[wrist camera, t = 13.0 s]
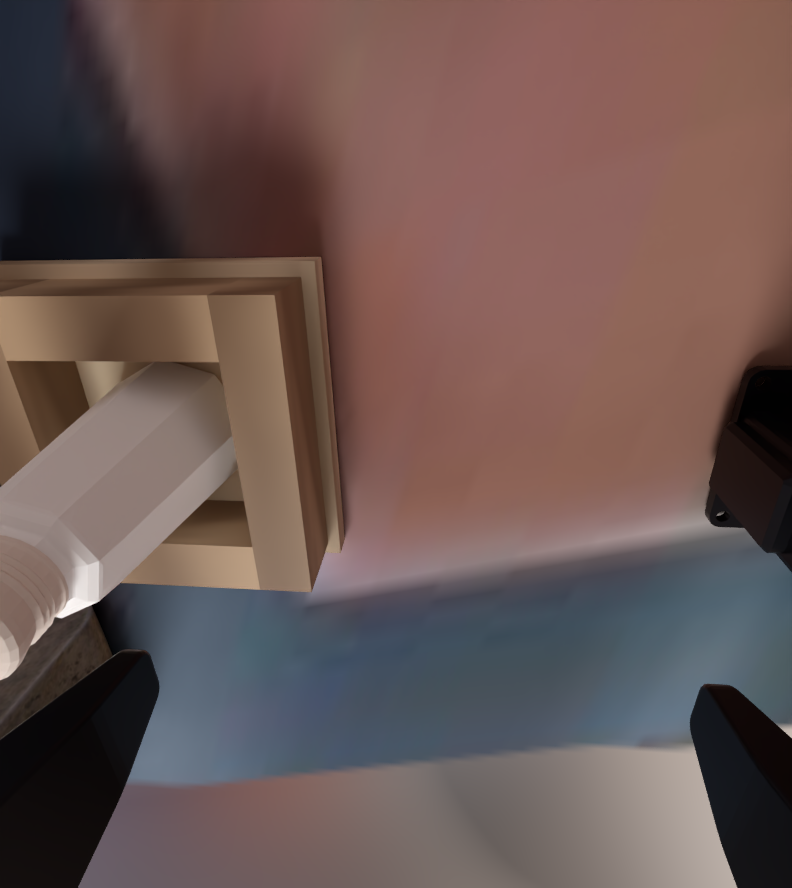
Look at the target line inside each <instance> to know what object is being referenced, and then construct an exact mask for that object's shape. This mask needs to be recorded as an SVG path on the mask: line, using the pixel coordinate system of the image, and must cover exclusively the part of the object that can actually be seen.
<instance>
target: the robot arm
mask: <svg viewBox="0 0 792 888" xmlns="http://www.w3.org/2000/svg"><path fill="white" fill-rule="evenodd" d="M761 377H765V381H764V383H763V384H761V385H760V386H755V383H756V381H757V380H758V379H759V378H761ZM709 485H710V487H711V492H710V495H709V499H708V502H707V506H706V509H705V515H706V517H707V518H708V520H709V521H710V522H711V524H713V525H714V526H718V527H737V528H745V529H746V530H747V532H748V533H749V534H750V535H751V536H752V538H753V539H754V540H755V541H756V542H757V544H758V545H759V546H760V547H761V548H762V549H763V550H764V551H765V552H766V553H776V554H777V555H778V557H779V558H780V559H781V560H782V561H783V562H784V564H785V565H786V566H787V567H788V568H789V570H790V571H791V572H792V366H757V367H754V368H752V369H750V370H749V371H748V372H747V373H746V374H745V375H744V377H743V379H742V382H741V386H740V389H739V393H738V396H737V400H736V403H735V407H734V411H733V414H732V418H731V421H730V423H729V424H728V425H727V426H726V427H725V428H724V431H723V434H722V438H721V441H720V445H719V449H718V452H717V456H716V459H715V463H714V467H713V470H712V474H711V477H710V481H709ZM721 511H725V512H724V514H722V515H720V516H716V515H717V514H718V513H719V512H721ZM158 694H159V681H158V677H157V674H156V671H155V668H154V665H153V662H152V659H151V656H150V654H149V653H148V652H147V651H145V650H133V649H125V650H122V651H120V652H118V653H117V654H115V655H114V656H113V657H111V658H110V659H108V660H107V661H106V662H104V663H103V664H102V665H100V666H99V667H98V668H96V669H95V670H93V671H92V672H91V673H89V674H88V675H87V676H85V677H84V678H83V679H81V680H80V681H78V682H77V683H76V684H74V685H73V686H72V687H70V688H69V689H68V690H66V691H65V692H63V693H62V694H61V695H59V696H58V697H57V698H55V699H54V700H53V701H51V702H50V703H48V704H47V705H46V706H44V707H43V708H42V709H40V710H39V711H38V712H36V713H35V714H33V715H32V716H31V717H29V718H28V719H27V720H25V721H24V722H23V723H21V724H20V725H18V726H17V727H16V728H14V729H13V730H12V731H10V732H9V733H8V734H6V735H5V736H3V737H2V738H1V739H0V888H78V886H79V884H80V882H81V880H82V878H83V875H84V873H85V871H86V869H87V867H88V865H89V863H90V861H91V859H92V856H93V854H94V852H95V850H96V848H97V846H98V844H99V842H100V840H101V837H102V835H103V833H104V831H105V829H106V827H107V825H108V822H109V820H110V818H111V816H112V814H113V812H114V810H115V808H116V806H117V803H118V801H119V799H120V797H121V794H122V792H123V790H124V787H125V785H126V782H127V780H128V777H129V775H130V772H131V769H132V766H133V764H134V761H135V758H136V756H137V753H138V750H139V747H140V745H141V742H142V739H143V736H144V734H145V731H146V728H147V725H148V723H149V720H150V717H151V714H152V712H153V709H154V706H155V704H156V701H157V698H158ZM690 730H691V735H692V739H693V743H694V746H695V750H696V754H697V757H698V761H699V765H700V769H701V772H702V776H703V780H704V783H705V787H706V791H707V794H708V798H709V801H710V805H711V809H712V813H713V816H714V820H715V824H716V827H717V831H718V834H719V837H720V841H721V844H722V847H723V850H724V853H725V855H726V858H727V861H728V864H729V866H730V869H731V872H732V874H733V877H734V880H735V882H736V885H737V888H792V738H791V737H789V736H788V735H787V734H786V733H785V732H784V731H783V730H782V729H781V728H779V727H778V726H777V725H776V724H775V723H774V722H773V721H772V720H771V719H769V718H768V717H767V716H766V715H765V714H764V713H763V712H762V711H761V710H759V709H758V708H757V707H756V706H755V705H754V704H753V703H752V702H751V701H749V700H748V699H747V698H746V697H745V696H744V695H743V694H742V693H741V692H739V691H738V690H737V689H736V688H734V687H732V686H730V685H721V684H704V685H703V686H702V687H701V688H700V691H699V693H698V696H697V699H696V702H695V705H694V708H693V711H692V714H691V718H690Z"/></svg>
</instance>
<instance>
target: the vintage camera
mask: <svg viewBox="0 0 792 888" xmlns="http://www.w3.org/2000/svg"><path fill="white" fill-rule="evenodd" d="M111 657H113V655H112V653H111V650H110V648H109V645H108V643H107V640H106V638H105V635H104V633H103V631H102V628H101V626H100V624H99V621H98V619H97V617H96V614H95V612H94V610H93V607H92V605H90V606H88V607H86V608H84V609H81V610H79V611H77V612H75V613H72V614H70V615H68V616H66V617H64V618H58V617H54V620H53V623H52V625H51V626H50V627H49V628H48V629H47V631H46V632H45V633H44V634H43V635H42V636H41V637H40V638H39V639H38V640H37V641H36V642H35V643H34V644H33V645H31V646H30V647H29V649H28V651H27V653H26V655H25V657H24V659H23V661H22V663H21V664H20V665H19V666H18V668H17V669H16V670H15V671H14V672H13V673H12V674H11V675H10V676H9V677H7V678H4V679H2V680H0V739H1V738H2V737H3V736H5V735H6V734H8V733H9V732H10V731H12V730H13V729H14V728H16V727H17V726H18V725H20V724H21V723H23V722H24V721H25V720H27V719H28V718H29V717H31V716H32V715H33V714H35V713H36V712H38V711H39V710H40V709H42V708H43V707H44V706H46V705H47V704H48V703H50V702H51V701H53V700H54V699H55V698H57V697H58V696H59V695H61V694H62V693H63V692H65V691H66V690H68V689H69V688H70V687H72V686H73V685H74V684H76V683H77V682H78V681H80V680H81V679H83V678H84V677H85V676H87V675H88V674H89V673H91V672H92V671H93V670H95V669H96V668H98V667H99V666H100V665H102V664H103V663H104V662H106V661H107V660H108V659H110V658H111Z"/></svg>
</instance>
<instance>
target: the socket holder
mask: <svg viewBox="0 0 792 888" xmlns="http://www.w3.org/2000/svg"><path fill="white" fill-rule="evenodd" d="M152 362H174V363H177V364H181V365H184V366H188V367H191V368H195V369H198V370H201V371H205V372H208V373H212V374H215V376H216V377H217V378H218V380H219V381H220V382H221V384H222V385H223V387H224V393H225V399H226V404H227V410H228V415H229V421H230V426H231V432H232V437H233V443H234V448H235V454H236V459H237V465H238V469H237V470H236V471H235V472H234V473H233V474H232V475H231V476H230V477H229V478H228V479H227V480H226V481H225V482H224V483H223V484H222V485H221V486H220V487H219V488H217V489H216V490H215V491H214V492H213V493H212V494H211V495H210V496H209V497H208V498H207V499H206V500H205V501H204V502H203V503H202V504H201V505H200V506H199V507H198V508H197V509H196V510H195V511H194V512H193V513H192V514H191V515H190V516H189V517H188V518H187V519H186V520H185V521H183V522H182V523H181V524H180V525H179V526H178V527H177V528H176V529H175V530H174V531H173V532H172V533H171V534H170V535H169V536H168V537H167V538H166V539H165V540H164V541H163V542H162V543H161V544H160V545H159V546H158V547H157V548H156V549H155V550H154V551H153V552H152V553H150V554H149V555H148V556H147V557H146V558H145V559H144V560H143V561H142V562H141V563H140V564H139V565H138V566H137V567H136V568H135V569H134V570H133V571H132V572H131V573H130V574H129V575H128V576H127V577H126V578H125V579H124V580H123V581H122V582H121V583H136V584H156V585H176V586H197V587H217V588H238V589H258V590H279V591H299V592H312V589H313V586H314V583H315V581H316V578H317V575H318V572H319V569H320V566H321V563H322V560H323V557H324V554H325V552H329V553H341V550H342V546H343V543H344V540H345V536H344V524H343V512H342V500H341V488H340V476H339V464H338V452H337V440H336V428H335V416H334V404H333V392H332V380H331V368H330V356H329V344H328V332H327V320H326V308H325V296H324V284H323V272H322V260H321V257H267V258H188V259H110V260H32V261H0V484H1V486H2V485H4V484H5V483H6V482H7V481H8V480H9V479H10V478H11V477H13V476H14V475H15V474H16V473H17V472H18V471H19V470H21V469H22V468H23V467H24V466H25V465H26V464H27V463H29V462H30V461H31V460H32V459H33V458H34V457H35V456H37V455H38V454H39V453H40V452H41V451H42V450H43V449H44V448H46V447H47V446H48V445H49V444H50V443H51V442H52V441H54V440H55V439H56V438H57V437H58V436H59V435H60V434H62V433H63V432H64V431H65V430H66V429H67V428H68V427H70V426H71V425H72V424H73V423H74V422H75V421H76V420H77V419H79V418H80V417H81V416H82V415H83V414H84V413H85V412H87V411H88V410H89V409H90V408H91V407H92V406H93V405H95V404H96V403H97V402H98V401H99V400H100V399H101V398H103V397H104V396H105V395H106V394H107V393H108V392H109V391H110V390H112V389H113V388H114V387H115V386H116V385H117V384H118V383H120V382H122V381H123V380H125V379H126V378H128V377H130V376H131V375H133V374H135V373H136V372H138V371H139V370H141V369H143V368H144V367H146V366H148V365H149V364H151V363H152Z"/></svg>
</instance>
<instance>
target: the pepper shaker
mask: <svg viewBox="0 0 792 888" xmlns="http://www.w3.org/2000/svg"><path fill="white" fill-rule="evenodd" d="M237 469H238V465H237V459H236V454H235V448H234V443H233V437H232V432H231V426H230V421H229V415H228V410H227V404H226V399H225V393H224V387H223V385H222V384H221V382H220V381H219V380H218V378H217V377H216V376H215V374H212V373H208V372H205V371H201V370H198V369H195V368H191V367H188V366H184V365H181V364H177V363H174V362H152V363H151V364H149V365H148V366H146V367H144V368H143V369H141V370H139V371H138V372H136V373H135V374H133V375H131V376H130V377H128V378H126V379H125V380H123V381H122V382H120V383H118V384H117V385H116V386H115V387H114V388H113V389H112V390H110V391H109V392H108V393H107V394H106V395H105V396H104V397H103V398H101V399H100V400H99V401H98V402H97V403H96V404H95V405H93V406H92V407H91V408H90V409H89V410H88V411H87V412H85V413H84V414H83V415H82V416H81V417H80V418H79V419H77V420H76V421H75V422H74V423H73V424H72V425H71V426H70V427H68V428H67V429H66V430H65V431H64V432H63V433H62V434H60V435H59V436H58V437H57V438H56V439H55V440H54V441H52V442H51V443H50V444H49V445H48V446H47V447H46V448H44V449H43V450H42V451H41V452H40V453H39V454H38V455H37V456H35V457H34V458H33V459H32V460H31V461H30V462H29V463H27V464H26V465H25V466H24V467H23V468H22V469H21V470H19V471H18V472H17V473H16V474H15V475H14V476H13V477H11V478H10V479H9V480H8V481H7V482H6V483H5V484H4V485H2V486H1V487H0V680H2V679H4V678H7V677H9V676H10V675H11V674H12V673H13V672H14V671H15V670H16V669H17V668H18V666H19V665H20V664H21V663H22V661H23V659H24V657H25V655H26V653H27V651H28V649H29V647H30V646H31V645H33V644H34V643H35V642H36V641H37V640H38V639H39V638H40V637H41V636H42V635H43V634H44V633H45V632H46V631H47V629H48V628H49V627H50V626H51V625H52V623H53V620H54V617H58V618H64V617H66V616H68V615H70V614H72V613H75V612H77V611H79V610H81V609H84V608H86V607H88V606H90V605H92V604H95V603H97V602H99V601H100V600H101V599H102V598H103V597H105V596H106V595H107V594H108V593H109V592H110V591H112V590H113V589H114V588H115V587H116V586H117V585H118V584H120V583H121V582H122V581H123V580H124V579H125V578H126V577H127V576H128V575H129V574H130V573H131V572H132V571H133V570H134V569H135V568H136V567H137V566H138V565H139V564H140V563H141V562H142V561H143V560H144V559H145V558H146V557H147V556H148V555H149V554H150V553H152V552H153V551H154V550H155V549H156V548H157V547H158V546H159V545H160V544H161V543H162V542H163V541H164V540H165V539H166V538H167V537H168V536H169V535H170V534H171V533H172V532H173V531H174V530H175V529H176V528H177V527H178V526H179V525H180V524H181V523H182V522H183V521H185V520H186V519H187V518H188V517H189V516H190V515H191V514H192V513H193V512H194V511H195V510H196V509H197V508H198V507H199V506H200V505H201V504H202V503H203V502H204V501H205V500H206V499H207V498H208V497H209V496H210V495H211V494H212V493H213V492H214V491H215V490H216V489H217V488H219V487H220V486H221V485H222V484H223V483H224V482H225V481H226V480H227V479H228V478H229V477H230V476H231V475H232V474H233V473H234V472H235V471H236V470H237Z"/></svg>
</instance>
